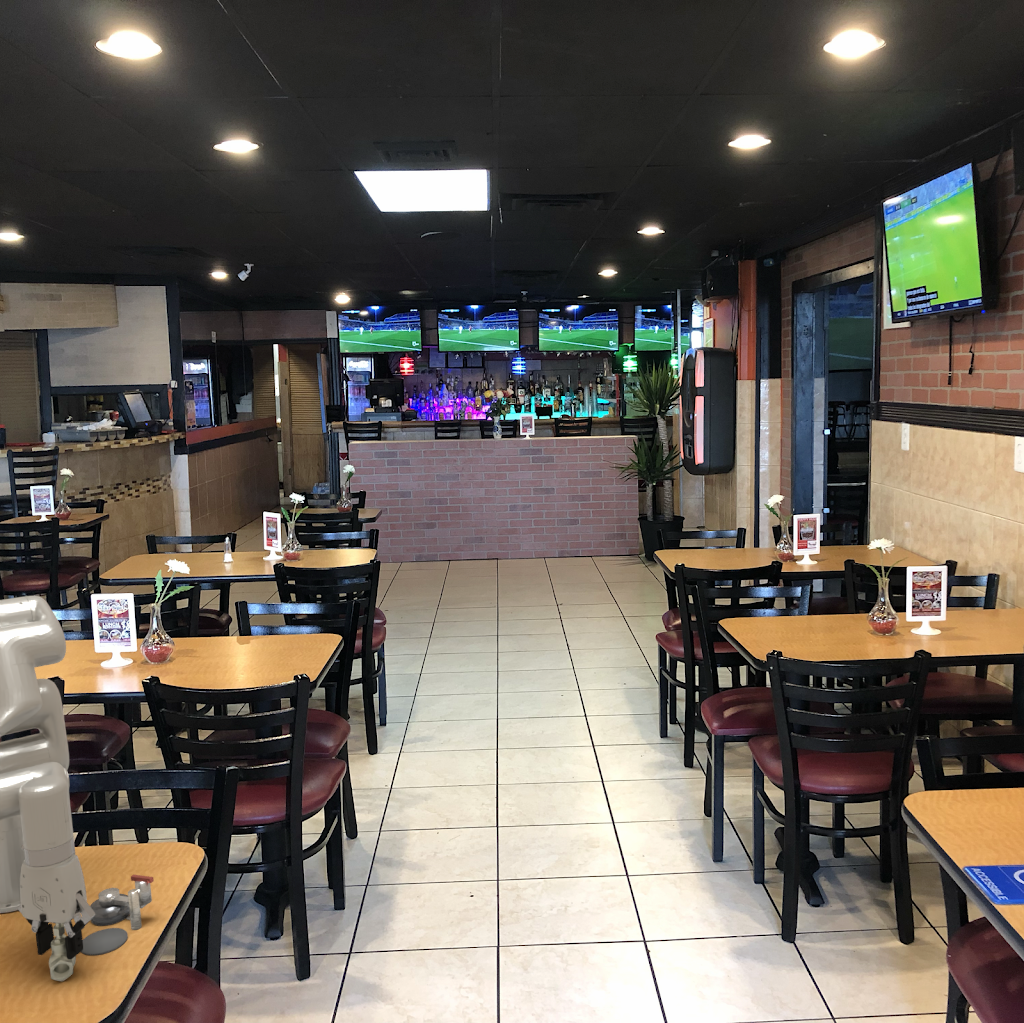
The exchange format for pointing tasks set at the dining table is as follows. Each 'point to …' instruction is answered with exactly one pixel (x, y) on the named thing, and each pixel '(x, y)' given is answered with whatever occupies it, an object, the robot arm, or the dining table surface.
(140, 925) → the crank housing
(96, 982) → the dining table surface
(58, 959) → the valve
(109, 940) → the mat
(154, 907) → the dining table surface
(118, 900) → the crank
